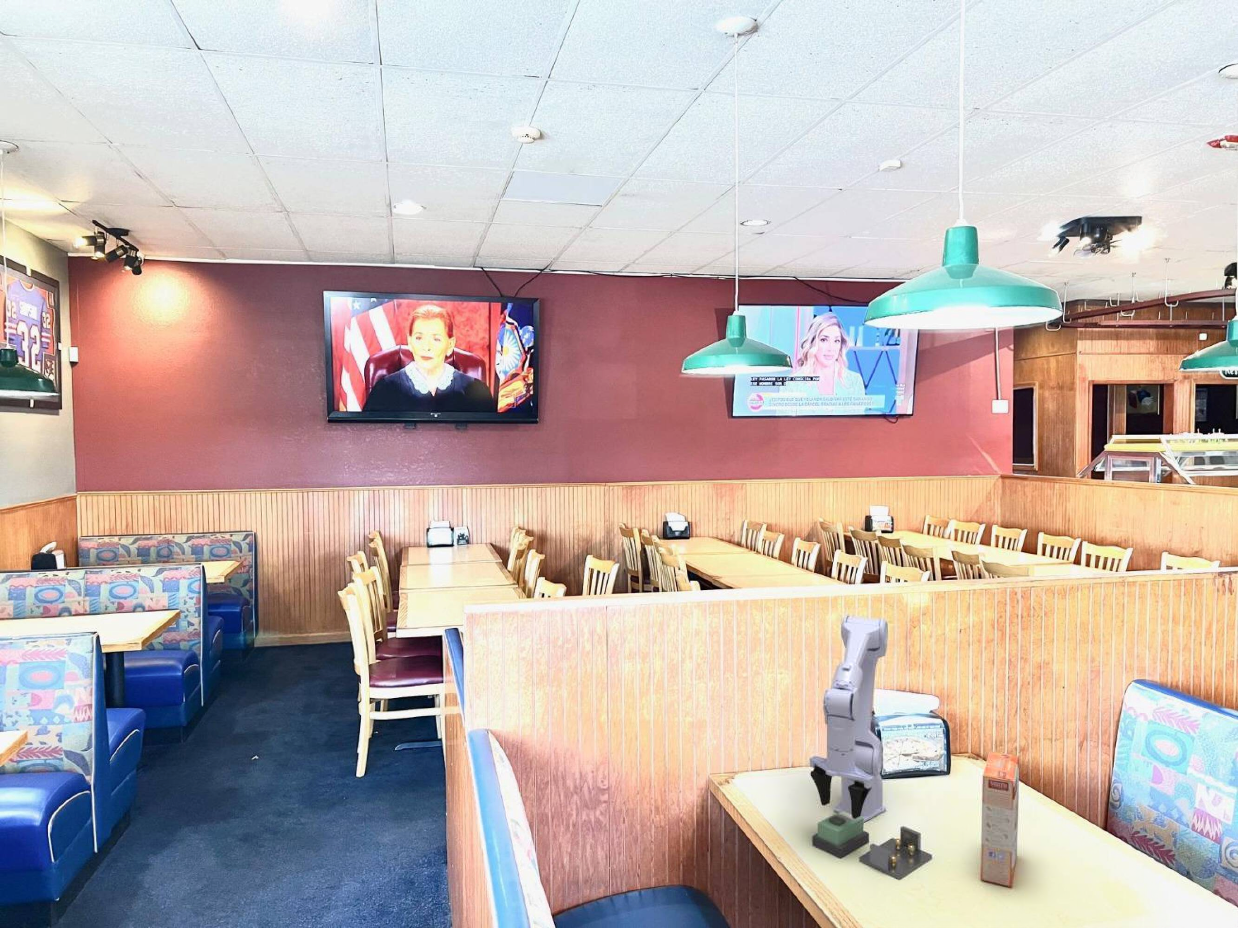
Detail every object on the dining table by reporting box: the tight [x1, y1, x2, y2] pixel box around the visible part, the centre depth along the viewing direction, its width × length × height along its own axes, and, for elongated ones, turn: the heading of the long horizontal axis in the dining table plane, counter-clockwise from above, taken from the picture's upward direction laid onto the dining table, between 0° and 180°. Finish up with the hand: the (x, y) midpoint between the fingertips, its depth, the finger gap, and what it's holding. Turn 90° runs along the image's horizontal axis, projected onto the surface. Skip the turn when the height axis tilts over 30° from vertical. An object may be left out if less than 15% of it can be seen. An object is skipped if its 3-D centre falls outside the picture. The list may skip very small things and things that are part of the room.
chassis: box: [858, 825, 933, 881], centre depth 163 cm, size 12×9×4 cm
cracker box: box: [980, 750, 1020, 888], centre depth 160 cm, size 14×6×21 cm, turn 150°
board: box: [817, 810, 865, 846], centre depth 170 cm, size 9×5×4 cm, turn 129°
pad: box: [811, 830, 870, 859], centre depth 170 cm, size 10×7×2 cm
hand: (840, 810), depth 170 cm, fingers open, 7 cm apart
